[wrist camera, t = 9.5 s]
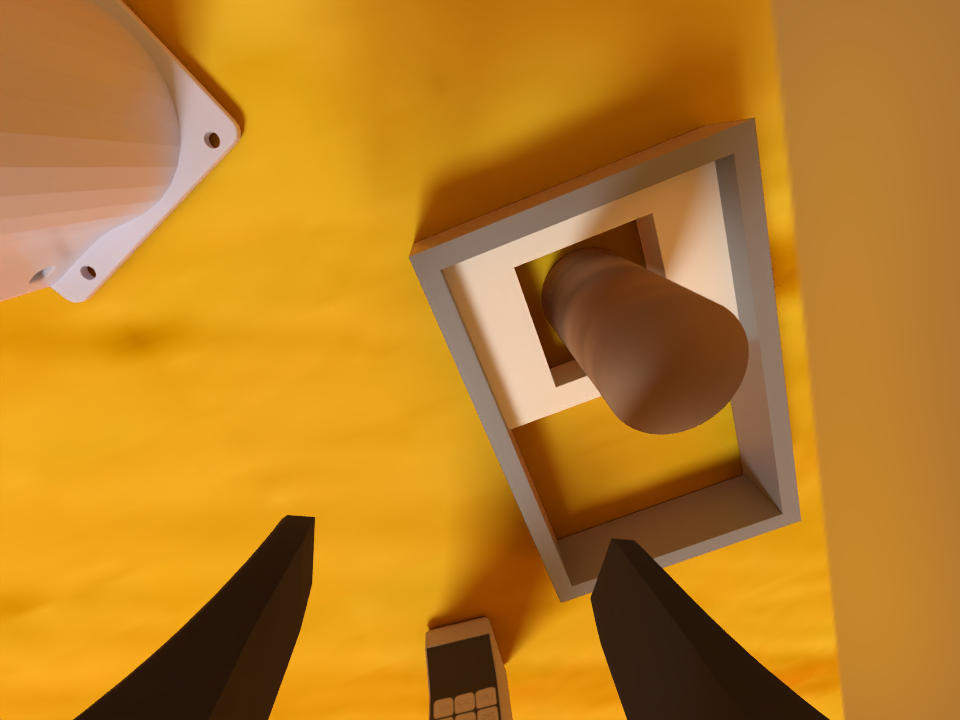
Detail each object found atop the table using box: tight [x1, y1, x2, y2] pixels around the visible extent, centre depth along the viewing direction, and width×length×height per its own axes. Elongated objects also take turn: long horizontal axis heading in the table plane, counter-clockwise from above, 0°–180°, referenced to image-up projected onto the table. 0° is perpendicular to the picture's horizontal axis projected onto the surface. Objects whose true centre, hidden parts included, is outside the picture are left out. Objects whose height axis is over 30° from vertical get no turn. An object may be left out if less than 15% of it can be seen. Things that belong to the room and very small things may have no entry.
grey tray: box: [409, 118, 801, 603], centre depth 20 cm, size 18×12×3 cm, turn 21°
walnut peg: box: [541, 247, 749, 434], centre depth 16 cm, size 4×4×8 cm
